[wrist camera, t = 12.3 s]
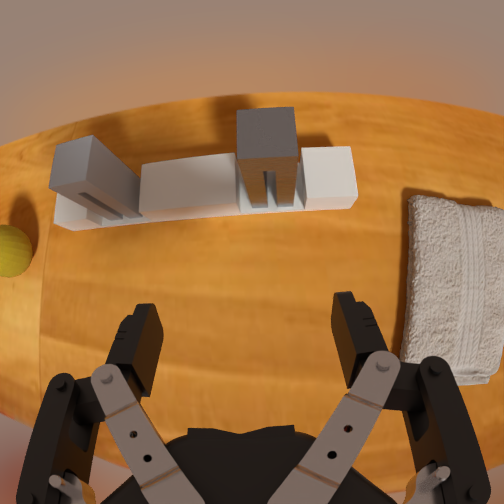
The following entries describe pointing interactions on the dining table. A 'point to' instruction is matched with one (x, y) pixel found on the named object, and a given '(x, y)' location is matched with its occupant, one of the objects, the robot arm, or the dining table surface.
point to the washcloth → (455, 287)
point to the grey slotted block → (268, 153)
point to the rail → (184, 186)
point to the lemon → (14, 251)
